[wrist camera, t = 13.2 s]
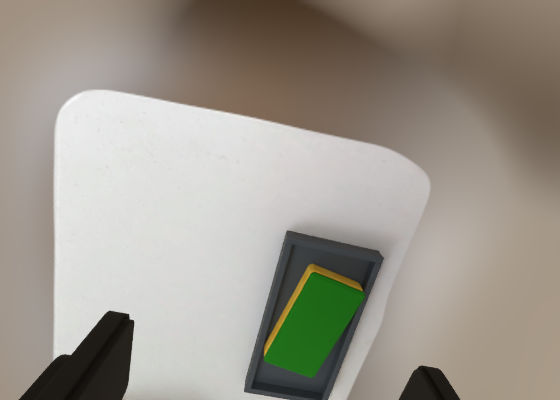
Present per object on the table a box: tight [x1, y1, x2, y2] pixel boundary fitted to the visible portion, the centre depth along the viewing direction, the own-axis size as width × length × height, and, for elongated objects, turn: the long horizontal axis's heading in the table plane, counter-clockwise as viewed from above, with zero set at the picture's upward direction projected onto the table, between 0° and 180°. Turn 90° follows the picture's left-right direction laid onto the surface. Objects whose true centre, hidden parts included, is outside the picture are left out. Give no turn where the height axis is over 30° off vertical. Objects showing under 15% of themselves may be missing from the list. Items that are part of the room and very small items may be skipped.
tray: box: [244, 231, 384, 400], centre depth 35 cm, size 24×12×2 cm, turn 166°
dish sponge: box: [264, 264, 365, 378], centre depth 34 cm, size 7×14×2 cm, turn 155°
